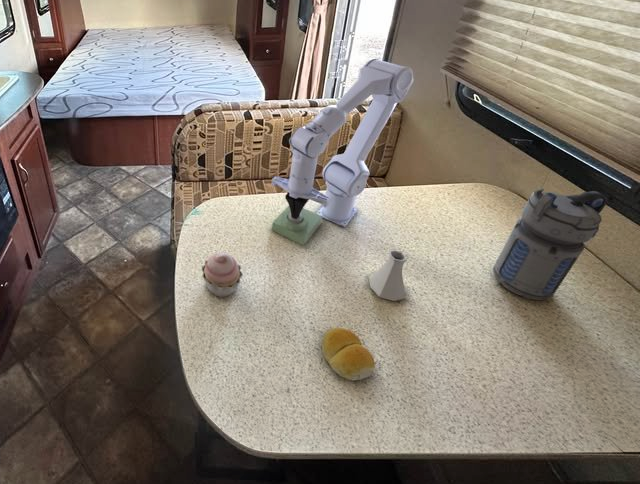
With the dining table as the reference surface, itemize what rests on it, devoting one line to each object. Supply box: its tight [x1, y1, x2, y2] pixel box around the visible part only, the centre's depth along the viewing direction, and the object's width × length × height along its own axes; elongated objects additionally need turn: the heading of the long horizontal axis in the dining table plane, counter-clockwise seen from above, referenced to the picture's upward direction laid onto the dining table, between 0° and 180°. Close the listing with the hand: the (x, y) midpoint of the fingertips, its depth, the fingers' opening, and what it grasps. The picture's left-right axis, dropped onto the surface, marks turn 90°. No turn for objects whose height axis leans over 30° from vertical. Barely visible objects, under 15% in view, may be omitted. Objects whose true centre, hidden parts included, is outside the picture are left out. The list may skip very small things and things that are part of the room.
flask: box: [368, 249, 407, 302], centre depth 81 cm, size 7×7×10 cm
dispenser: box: [271, 205, 323, 246], centre depth 101 cm, size 11×9×4 cm
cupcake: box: [201, 252, 244, 298], centre depth 83 cm, size 9×9×10 cm
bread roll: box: [321, 327, 376, 382], centre depth 69 cm, size 8×9×4 cm
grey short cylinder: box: [288, 213, 303, 223], centre depth 98 cm, size 4×4×2 cm
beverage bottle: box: [492, 188, 609, 301], centre depth 77 cm, size 10×13×25 cm
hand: (295, 216), depth 98 cm, fingers closed, pressing on grey short cylinder
